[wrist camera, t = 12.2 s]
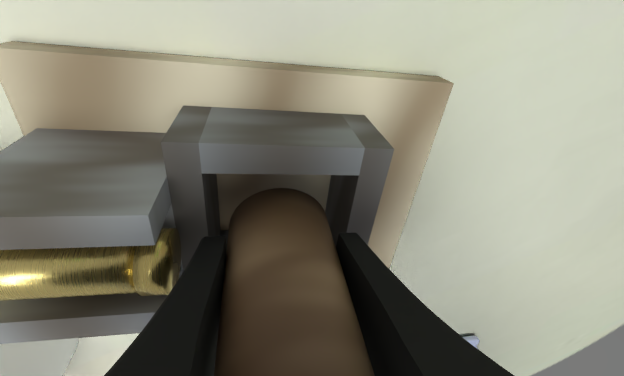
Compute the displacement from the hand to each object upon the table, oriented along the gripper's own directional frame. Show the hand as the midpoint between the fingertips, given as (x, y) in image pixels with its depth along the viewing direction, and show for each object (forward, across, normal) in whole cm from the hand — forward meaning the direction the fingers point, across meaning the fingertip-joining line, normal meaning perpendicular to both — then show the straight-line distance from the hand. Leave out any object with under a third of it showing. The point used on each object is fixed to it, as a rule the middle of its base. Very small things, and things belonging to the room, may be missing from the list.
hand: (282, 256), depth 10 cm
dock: (+6, +1, +2) cm, 6 cm away
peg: (+2, 0, 0) cm, 2 cm away
